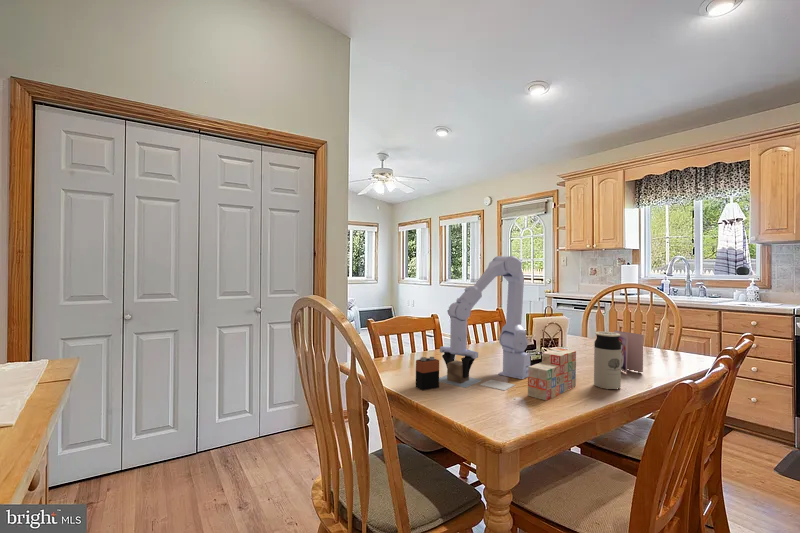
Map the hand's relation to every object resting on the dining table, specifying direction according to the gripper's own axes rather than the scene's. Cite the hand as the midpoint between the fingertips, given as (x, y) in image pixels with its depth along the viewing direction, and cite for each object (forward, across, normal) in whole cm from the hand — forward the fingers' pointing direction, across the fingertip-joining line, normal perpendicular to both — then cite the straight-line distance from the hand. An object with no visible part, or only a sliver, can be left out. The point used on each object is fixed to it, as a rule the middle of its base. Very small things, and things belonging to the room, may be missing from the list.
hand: (458, 375), depth 141 cm
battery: (+2, -3, -14) cm, 14 cm away
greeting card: (+2, +42, +55) cm, 69 cm away
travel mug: (+2, +41, +28) cm, 50 cm away
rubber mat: (+2, +13, +4) cm, 14 cm away
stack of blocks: (+2, +29, +11) cm, 31 cm away
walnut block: (+2, 0, 0) cm, 2 cm away
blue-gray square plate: (+2, 0, 0) cm, 2 cm away
